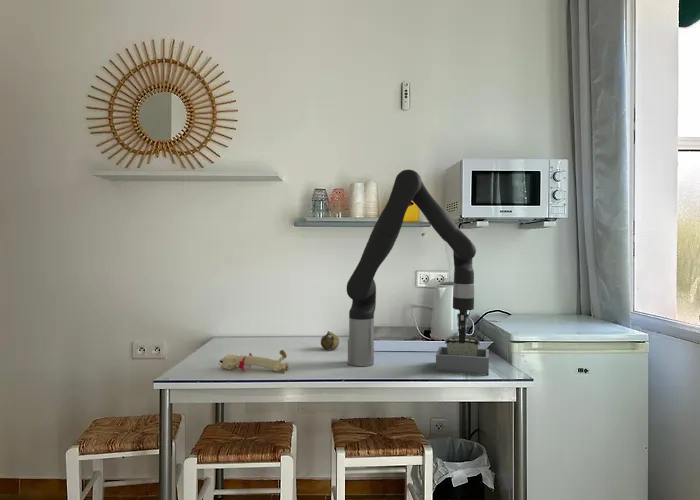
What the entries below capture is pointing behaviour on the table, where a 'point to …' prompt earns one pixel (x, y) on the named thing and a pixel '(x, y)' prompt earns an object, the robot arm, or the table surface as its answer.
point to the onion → (329, 341)
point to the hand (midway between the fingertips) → (462, 340)
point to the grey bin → (462, 362)
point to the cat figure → (254, 362)
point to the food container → (462, 346)
